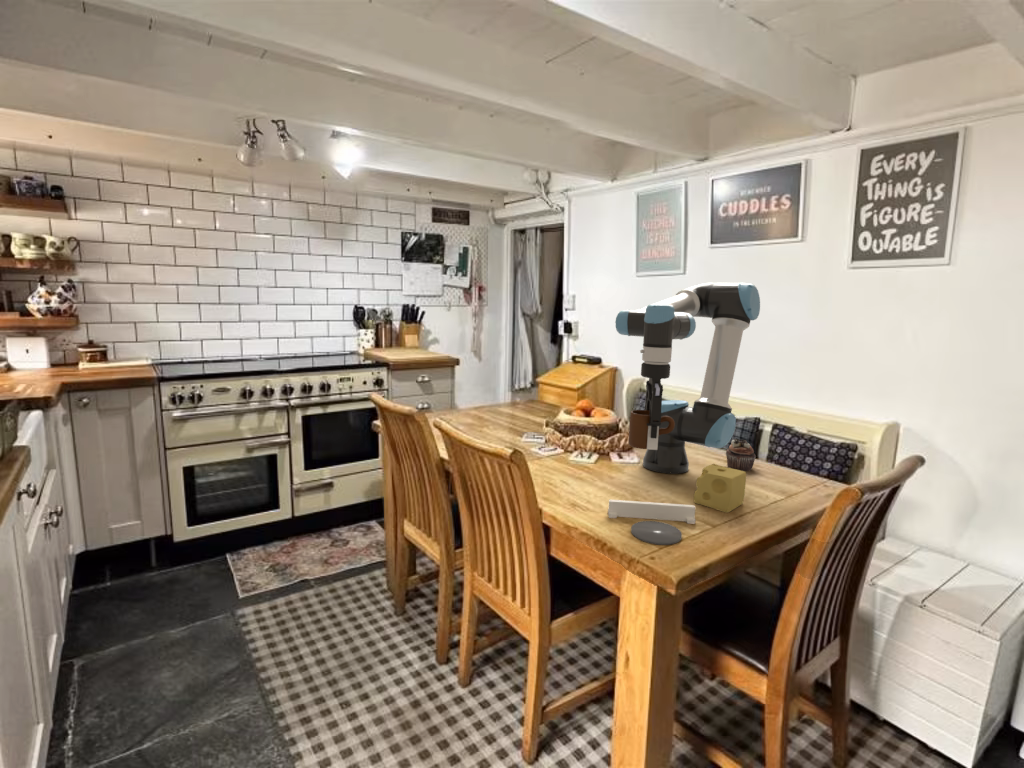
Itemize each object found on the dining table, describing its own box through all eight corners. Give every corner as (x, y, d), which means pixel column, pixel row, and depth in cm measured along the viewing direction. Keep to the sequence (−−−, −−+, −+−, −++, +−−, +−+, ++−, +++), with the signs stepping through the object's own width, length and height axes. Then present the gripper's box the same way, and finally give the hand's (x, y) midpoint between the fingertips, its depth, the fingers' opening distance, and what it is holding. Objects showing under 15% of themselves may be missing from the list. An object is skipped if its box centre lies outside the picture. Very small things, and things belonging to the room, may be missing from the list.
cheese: (693, 503, 155) (695, 469, 153) (710, 494, 162) (713, 462, 161) (728, 514, 148) (732, 479, 146) (745, 504, 155) (748, 470, 154)
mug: (674, 446, 150) (677, 413, 149) (670, 453, 143) (673, 418, 142) (631, 441, 155) (633, 408, 154) (625, 447, 148) (627, 413, 147)
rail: (607, 511, 147) (608, 497, 146) (691, 517, 144) (693, 503, 144) (608, 517, 143) (609, 503, 142) (695, 523, 140) (696, 509, 140)
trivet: (628, 522, 140) (629, 519, 140) (676, 525, 139) (676, 522, 139) (633, 542, 129) (634, 539, 128) (686, 546, 127) (686, 543, 127)
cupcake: (758, 472, 184) (761, 444, 183) (728, 470, 186) (730, 442, 184) (750, 464, 194) (753, 437, 192) (721, 462, 195) (724, 435, 193)
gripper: (637, 358, 157) (632, 435, 160) (646, 366, 137) (640, 454, 140) (664, 359, 156) (658, 436, 159) (677, 367, 136) (670, 456, 139)
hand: (650, 445), depth 150 cm, fingers closed on mug, 7 cm apart
